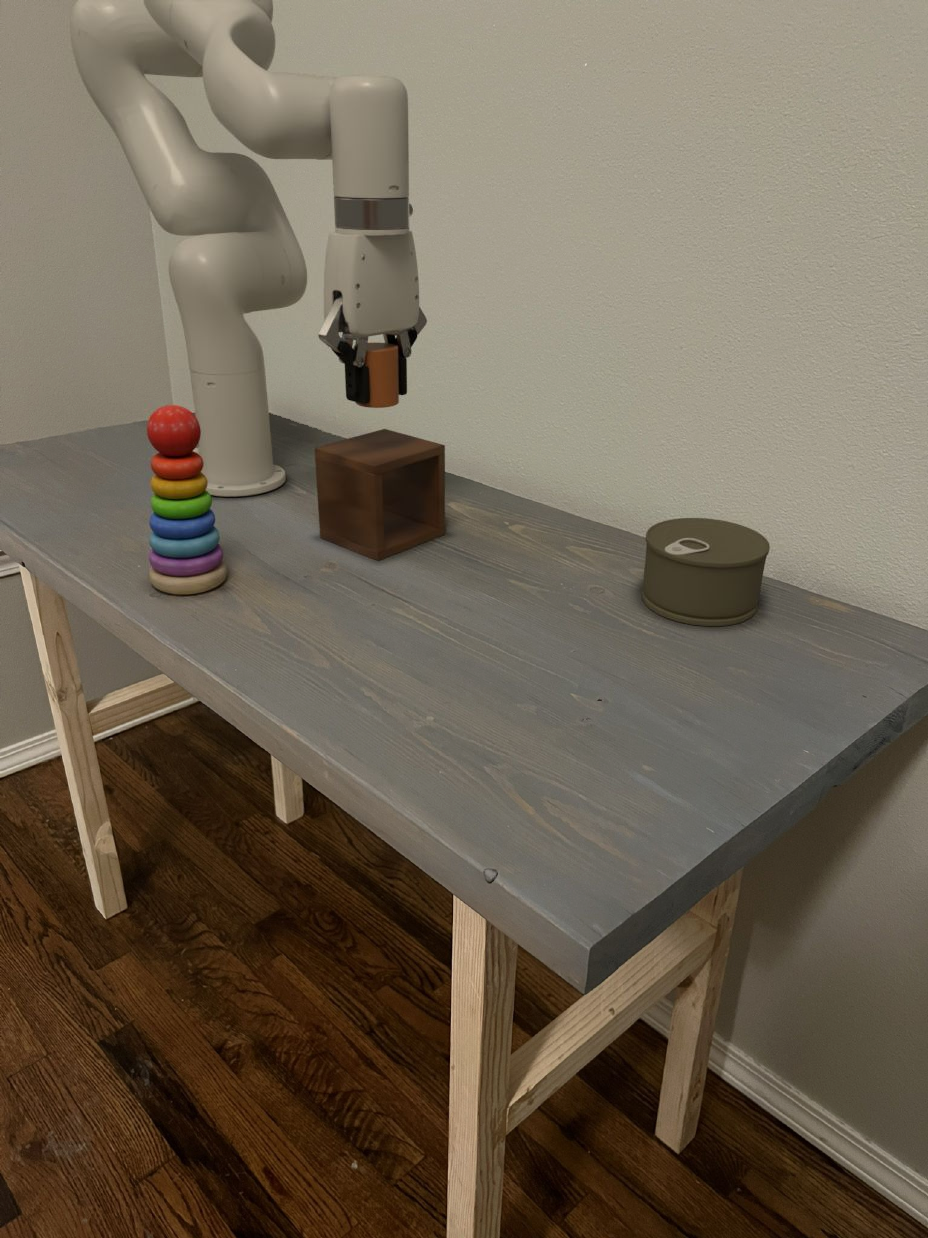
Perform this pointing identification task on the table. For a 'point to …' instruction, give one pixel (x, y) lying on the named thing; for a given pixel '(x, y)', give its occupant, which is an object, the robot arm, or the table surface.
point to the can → (703, 571)
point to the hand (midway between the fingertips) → (376, 395)
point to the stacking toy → (181, 508)
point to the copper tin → (382, 375)
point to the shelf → (381, 492)
